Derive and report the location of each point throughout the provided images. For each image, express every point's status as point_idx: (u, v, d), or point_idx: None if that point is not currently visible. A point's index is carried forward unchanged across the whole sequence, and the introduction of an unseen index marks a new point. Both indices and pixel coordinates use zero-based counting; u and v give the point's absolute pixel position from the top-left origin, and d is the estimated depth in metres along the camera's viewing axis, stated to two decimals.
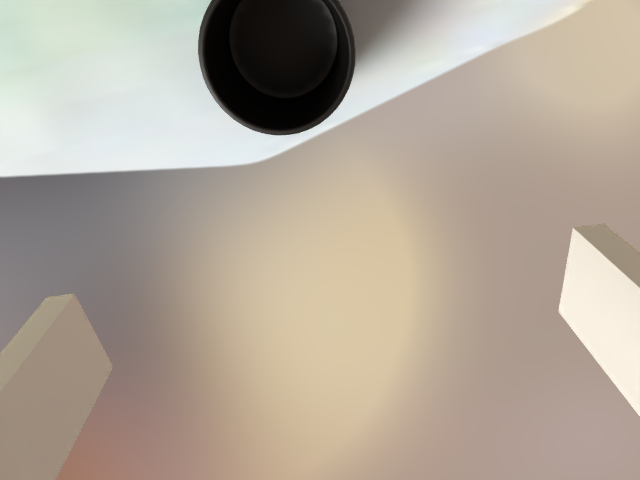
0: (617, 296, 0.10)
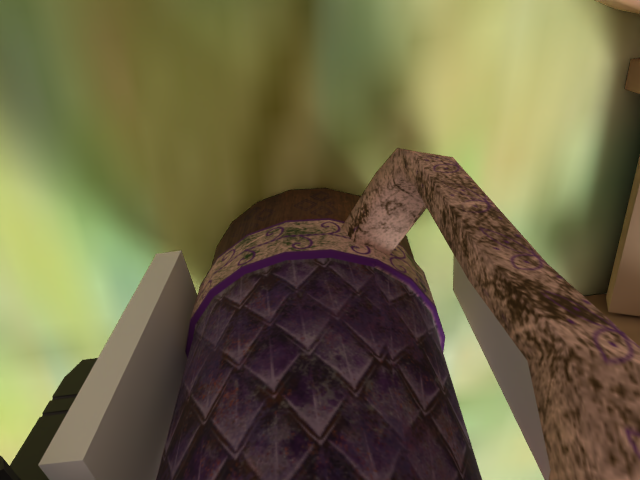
0: None
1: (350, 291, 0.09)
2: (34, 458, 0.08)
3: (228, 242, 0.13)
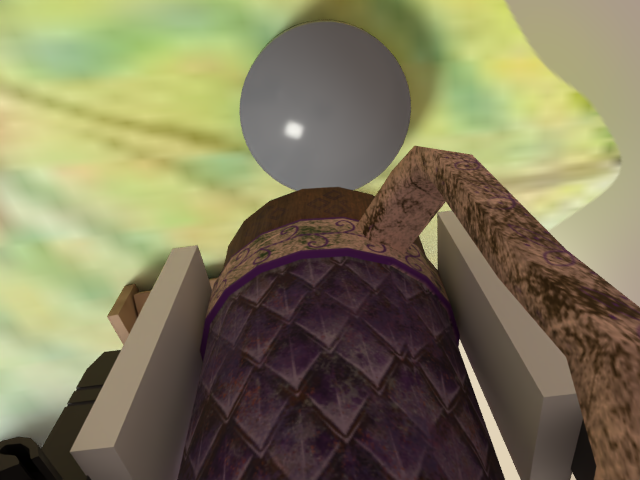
0: (457, 269, 0.11)
1: (368, 289, 0.09)
2: (63, 446, 0.08)
3: (241, 241, 0.13)
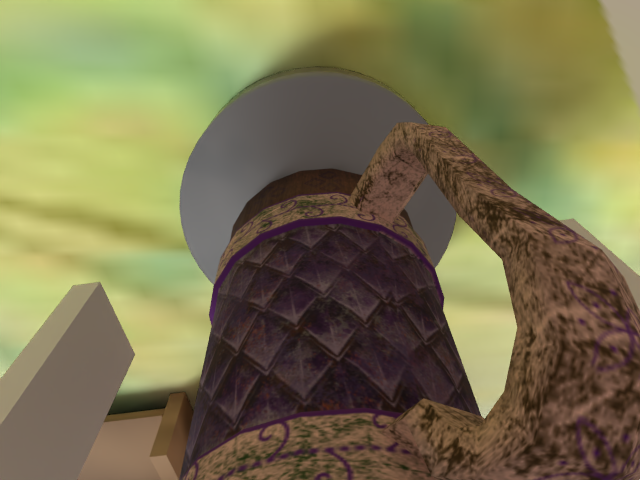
0: None
1: (358, 250, 0.11)
2: None
3: (245, 218, 0.14)
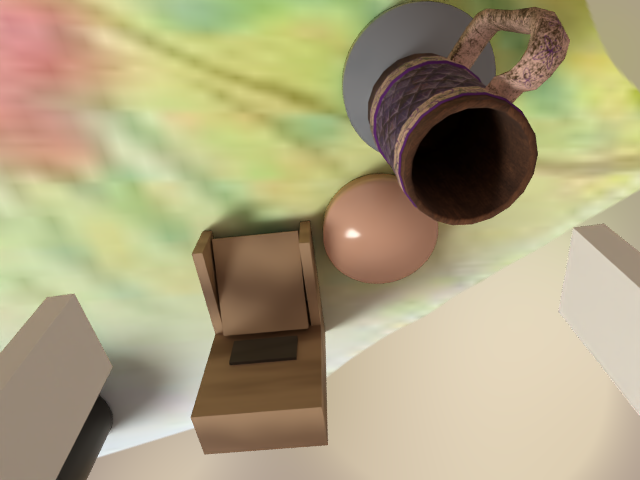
0: (617, 296, 0.10)
1: (457, 69, 0.24)
2: None
3: (387, 74, 0.27)
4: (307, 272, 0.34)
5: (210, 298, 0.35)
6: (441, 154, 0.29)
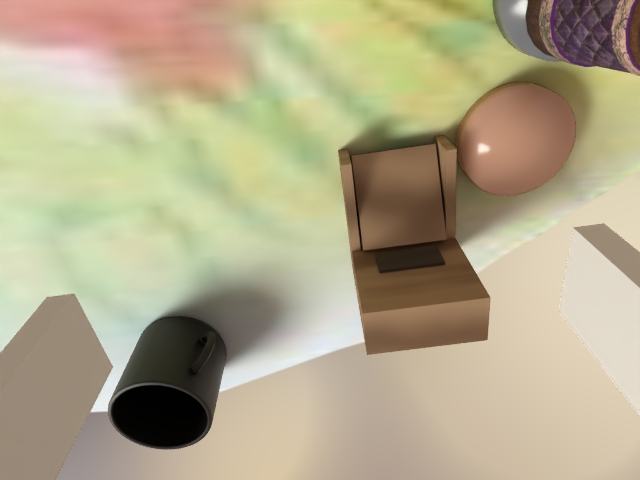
0: (617, 296, 0.10)
1: None
2: None
3: None
4: (450, 181, 0.35)
5: (352, 212, 0.36)
6: None
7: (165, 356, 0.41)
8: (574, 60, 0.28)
